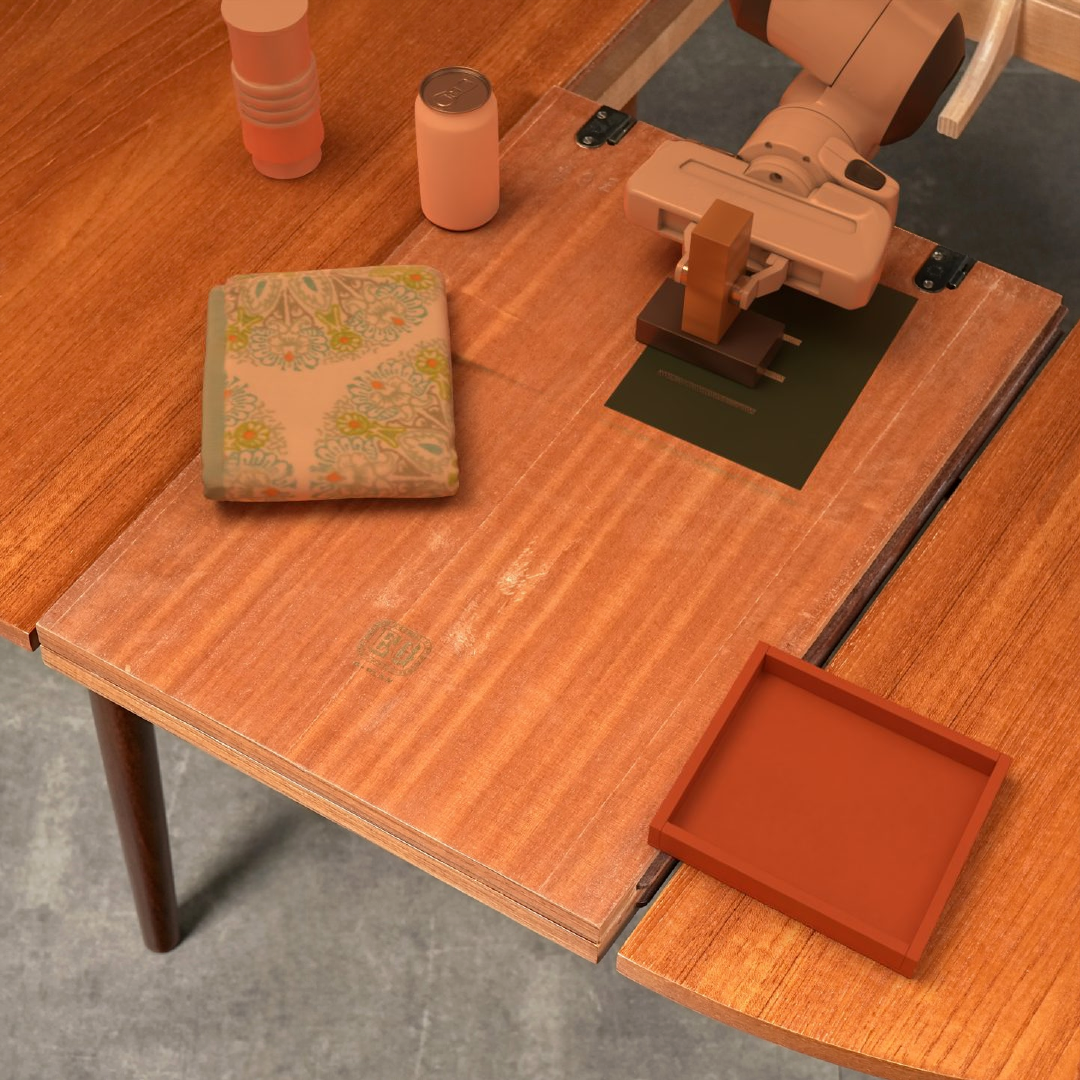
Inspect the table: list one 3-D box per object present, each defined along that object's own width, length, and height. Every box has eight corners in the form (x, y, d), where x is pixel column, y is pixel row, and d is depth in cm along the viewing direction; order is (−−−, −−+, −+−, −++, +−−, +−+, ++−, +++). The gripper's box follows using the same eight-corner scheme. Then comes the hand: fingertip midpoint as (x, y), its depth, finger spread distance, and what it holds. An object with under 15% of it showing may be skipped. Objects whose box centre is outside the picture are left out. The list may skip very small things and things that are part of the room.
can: (404, 209, 139) (395, 91, 130) (457, 169, 142) (452, 51, 133) (463, 245, 137) (458, 128, 127) (515, 203, 140) (514, 85, 130)
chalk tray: (1005, 776, 108) (1013, 757, 106) (910, 979, 100) (918, 962, 98) (755, 660, 114) (759, 639, 111) (646, 843, 105) (649, 825, 103)
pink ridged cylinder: (300, 117, 146) (280, -33, 134) (342, 162, 143) (325, 11, 131) (230, 148, 144) (203, -3, 132) (271, 194, 140) (247, 44, 128)
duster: (782, 346, 129) (802, 225, 119) (753, 389, 126) (772, 269, 116) (664, 298, 132) (675, 176, 122) (634, 339, 129) (643, 218, 119)
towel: (449, 295, 134) (446, 247, 130) (461, 508, 121) (458, 463, 117) (217, 306, 133) (207, 259, 129) (204, 522, 120) (192, 477, 116)
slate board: (916, 309, 133) (919, 298, 132) (798, 501, 122) (800, 490, 121) (732, 237, 138) (734, 226, 137) (602, 415, 126) (602, 405, 125)
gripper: (673, 100, 131) (586, 207, 124) (920, 191, 125) (844, 309, 118) (667, 164, 136) (584, 270, 129) (905, 254, 130) (831, 370, 123)
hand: (710, 289), depth 123 cm, fingers closed on duster, 3 cm apart
